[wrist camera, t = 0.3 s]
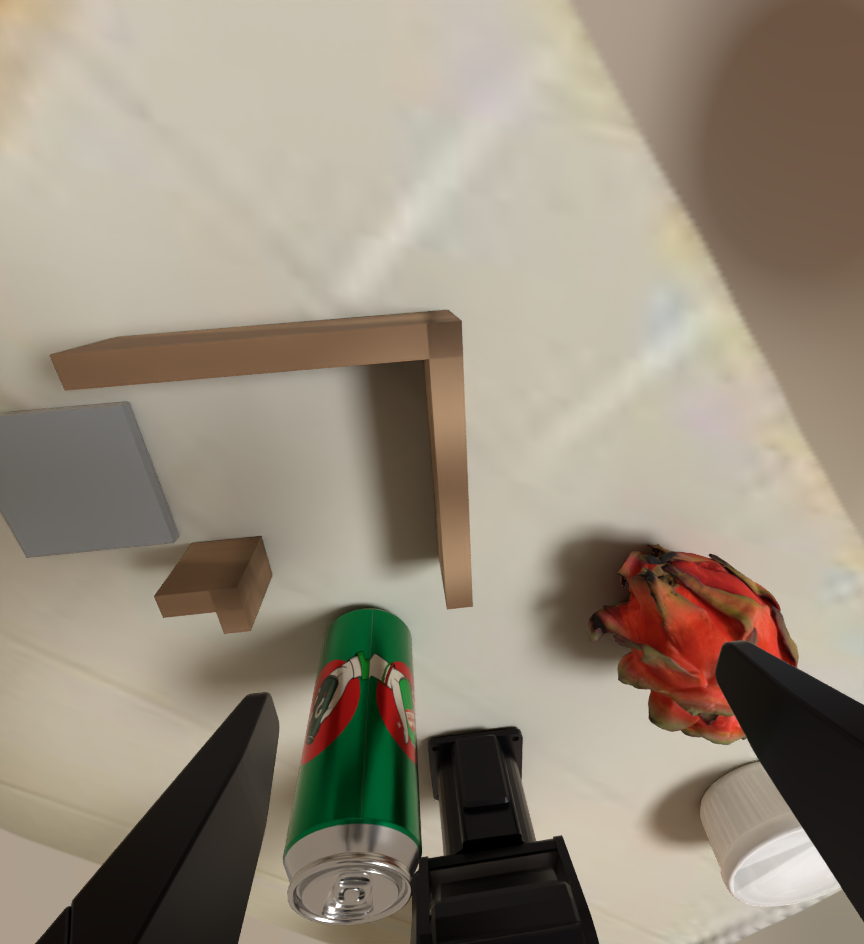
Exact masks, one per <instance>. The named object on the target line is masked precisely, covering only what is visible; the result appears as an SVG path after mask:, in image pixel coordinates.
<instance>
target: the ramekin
mask: <svg viewBox="0 0 864 944" xmlns="http://www.w3.org/2000/svg"><path fill="white" fill-rule="evenodd" d="M700 818H701V821H702V825H703V827H704V830H705V832H706V835H707V837H708V840H709V842H710V844H711V847H712V849H713V852H714V854H715V857H716V859H717V861H718V863H719V866H720V868H721V876H722V879H723V881H724V883H725V885H726V887H727V889H728V890H729V892H730V893H731V894H732V896H734V897H735V898H736V899H737V900H739V901H741V902H743V903H746V904H749V905H754V906H763V907H769V906H783V905H790V904H796V903H800V902H804V901H807V900H811V899H814V898H817V897H819V896H822V895H824V894H827V893H829V892H831V891H834V890H836V889H838V888H840V887H841V886H840V885H839V883H838V882H837V880H836V879H835V877H834V876H833V874H832V872H831V871H830V869H829V868H828V866H827V865H826V863H825V862H824V860H823V859H822V857H821V856H820V854H819V852H818V851H817V849H816V848H815V846H814V845H813V843H812V842H811V840H810V839H809V837H808V836H807V834H806V833H805V831H804V829H803V828H802V826H801V825H800V823H799V822H798V820H797V819H796V817H795V816H794V814H793V813H792V811H791V810H790V808H789V806H788V805H787V803H786V802H785V800H784V799H783V797H782V796H781V794H780V793H779V791H778V790H777V788H776V787H775V785H774V783H773V782H772V780H771V779H770V777H769V776H768V774H767V773H766V771H765V769H764V768H763V766H762V765H761V763H760V761H758V762H754V763H750V764H747V765H744V766H742V767H739V768H737V769H735V770H733V771H731V772H729V773H727V774H725V775H724V776H722V777H721V778H719V779H718V780H717V781H715V782H714V783H713V784H712V785H711V786H710V787H709V788H708V790H707V791H706V792H705V794H704V796H703V798H702V801H701V808H700Z"/></svg>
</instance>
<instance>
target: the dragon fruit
mask: <svg viewBox="0 0 864 944" xmlns="http://www.w3.org/2000/svg"><path fill="white" fill-rule="evenodd" d="M648 546H649V547H650V548H651V549H652V552H654V556H651V555H646V554H645V553H643V552H641V551H635V552H631V553H630V555H629V557H628V559H627V560H625V563H624V565H623V566H622V568H621V569H620V570H619V572H618V573H617V574H618V575H620V582H621V584H622V585H623V588H624V587H625V581H626V582H627V583H628V584H629V591H630V592H631V595H630V601H629V602H620V603H619V604H618V605H617V606H608V605H606V606H603V607H604V608H603V609H601V610H599V611H597V612H595V613H594V614H593V615H592V616H591V617H590V619H589V622H588V627H589V630H588V634H589V638H590V641H591V642H594V641H597V640H599V639H600V638H601V636H602V635H603V634H605V633H616V634H618V635H619V636H618V635H613V636H614V638H615V641H616V642H617V643H618V644H620V645H622V646H626V647H629V648H631V649H632V651H633V652H630V653H628V654H626V655H625V656H623V658H622V659H621V660H620V662H619V664H618V680H619V681H621V682H622V683H623V684H629V685H631V686H633V687H635V688H637V689H650V690H651V693H650V696H649V702H648V707H649V720H650V721H651V722H652V723H653V724H655V725H656V726H658V727H660V728H662V729H665V730H668V731H671V732H673V731H679V730H681V731H682V732H683V733H684V734H685V735H688V736H691V737H703V738H705V739H707V740H709V741H711V742H712V743H715V744H723V745H729V744H731V743H733V742H734V741H737V740H739V739H742V740H745V739H746V736H745V734H744V732H743V730H742V728H741V727H740V725H739V723H738V721H737V719H736V717H735V715H734V714H733V712H732V710H731V708H730V706H729V704H728V702H727V700H726V699H725V697H724V695H723V693H722V691H721V689H720V687H719V686H718V683H717V681H716V677H715V669H716V665H717V661H718V658H719V654H720V650H721V647H722V645H723V644H724V643H725V642H730V641H739V640H744V641H748V642H750V643H752V644H754V645H756V646H758V647H760V648H761V649H763V650H765V651H767V652H769V653H770V654H772V655H774V656H776V657H778V658H779V659H781V660H783V661H785V662H787V663H789V664H790V665H792V666H794V667H796V668H797V664H798V658H799V656H798V650H797V646H796V644H795V643H794V641H793V640H792V639H791V638H790V635H789V632H788V630H787V628H786V626H785V623H784V619H783V615H782V614H781V612H780V606H779V604H778V603H777V601H776V599H775V598H774V596H773V595H772V594H771V593H770V592H769V591H767V590H766V589H765V588H763V587H762V586H761V585H759V584H757V583H755V582H753V581H752V580H751V579H749V578H747V577H746V576H745V575H743V574H741V573H740V572H739V571H737V570H736V569H734V568H733V567H732V566H731V565H730V564H728V563H727V562H725V561H724V560H722V559H721V558H719V557H718V556H716V555H713V554H709V556H710V557H711V558H712V559H711V558H707V557H703V556H700V555H696V554H693V553H684V552H670V551H668V550H666V549H664V548H662V547H660V546H659V544H657V545H648ZM626 558H627V557H626ZM728 565H729V566H728ZM724 566H725V567H724ZM624 578H625V580H624Z"/></svg>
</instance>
